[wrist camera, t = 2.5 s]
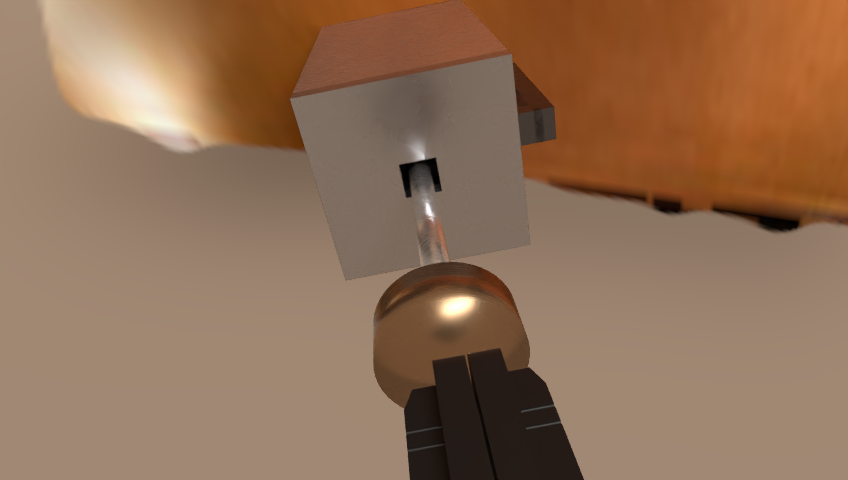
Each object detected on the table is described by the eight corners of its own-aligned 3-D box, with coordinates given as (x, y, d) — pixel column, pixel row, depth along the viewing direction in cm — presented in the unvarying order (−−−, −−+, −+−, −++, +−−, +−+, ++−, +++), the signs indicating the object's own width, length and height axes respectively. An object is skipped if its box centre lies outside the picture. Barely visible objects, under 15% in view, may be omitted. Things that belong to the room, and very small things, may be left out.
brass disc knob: (470, 58, 33) (577, 223, 16) (488, 185, 38) (586, 426, 20) (331, 86, 34) (283, 280, 16) (363, 210, 38) (354, 469, 20)
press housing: (496, -9, 44) (570, 42, 27) (510, 124, 50) (579, 235, 33) (321, 27, 44) (290, 99, 28) (355, 155, 50) (345, 280, 33)
